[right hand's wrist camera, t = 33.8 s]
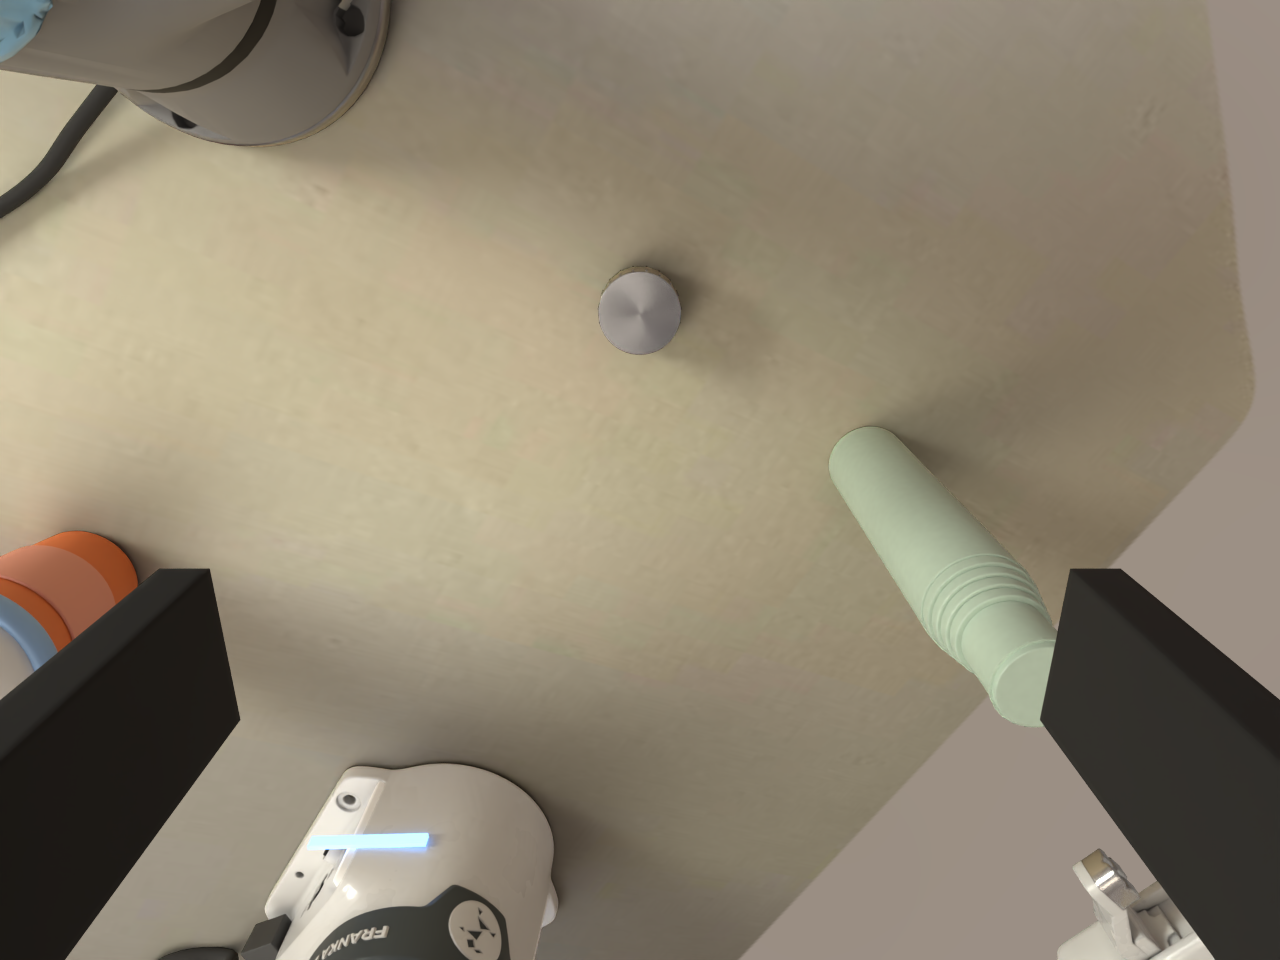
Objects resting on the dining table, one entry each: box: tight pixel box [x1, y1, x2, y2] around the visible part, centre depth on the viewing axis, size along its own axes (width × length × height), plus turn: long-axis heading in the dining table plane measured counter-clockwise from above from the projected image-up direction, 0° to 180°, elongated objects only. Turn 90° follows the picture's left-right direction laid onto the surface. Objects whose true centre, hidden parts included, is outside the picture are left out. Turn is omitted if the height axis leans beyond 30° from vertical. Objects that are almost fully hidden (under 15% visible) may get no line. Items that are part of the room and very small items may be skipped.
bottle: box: [829, 427, 1058, 727], centre depth 38 cm, size 4×4×23 cm
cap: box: [598, 266, 682, 355], centre depth 45 cm, size 4×4×3 cm
